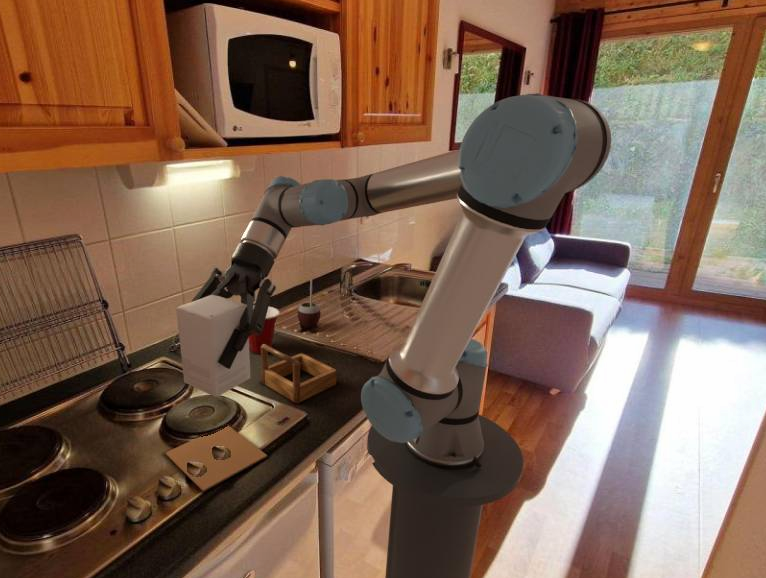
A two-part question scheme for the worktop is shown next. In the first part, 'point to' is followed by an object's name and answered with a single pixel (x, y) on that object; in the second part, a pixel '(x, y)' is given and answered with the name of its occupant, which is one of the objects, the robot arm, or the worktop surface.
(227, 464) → the mat
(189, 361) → the rectangular carton
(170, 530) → the worktop surface
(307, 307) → the mate gourd
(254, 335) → the plastic cup
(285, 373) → the open wooden box
